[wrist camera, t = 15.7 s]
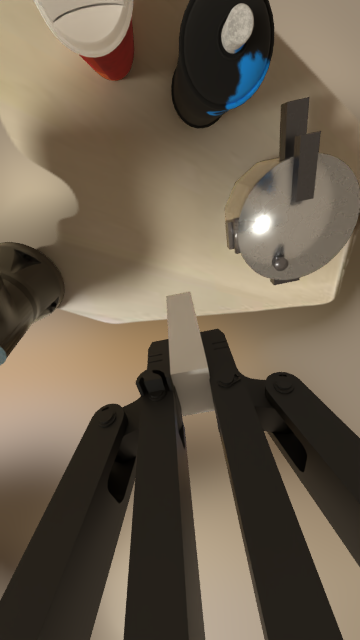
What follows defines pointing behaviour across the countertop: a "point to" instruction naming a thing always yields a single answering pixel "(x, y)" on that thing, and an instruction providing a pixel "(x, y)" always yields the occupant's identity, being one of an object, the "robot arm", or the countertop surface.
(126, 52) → the coffee cup
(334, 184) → the lid
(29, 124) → the countertop surface
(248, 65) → the aerosol can
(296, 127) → the pot
